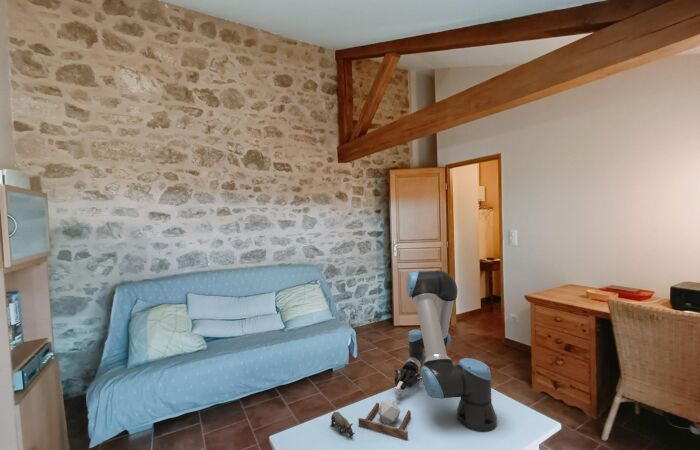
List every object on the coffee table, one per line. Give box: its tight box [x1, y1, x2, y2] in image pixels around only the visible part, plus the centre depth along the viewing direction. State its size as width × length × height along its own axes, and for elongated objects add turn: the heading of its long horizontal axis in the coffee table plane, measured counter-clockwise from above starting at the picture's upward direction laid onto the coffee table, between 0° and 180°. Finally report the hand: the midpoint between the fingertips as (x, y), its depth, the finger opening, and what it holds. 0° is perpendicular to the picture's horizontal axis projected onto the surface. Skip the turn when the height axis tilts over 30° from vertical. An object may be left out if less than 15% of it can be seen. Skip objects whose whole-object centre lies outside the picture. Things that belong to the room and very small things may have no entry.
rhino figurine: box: [330, 411, 356, 437], centre depth 124 cm, size 4×14×6 cm, turn 39°
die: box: [377, 399, 401, 425], centre depth 130 cm, size 8×9×10 cm
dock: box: [358, 402, 412, 441], centre depth 128 cm, size 20×14×3 cm
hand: (397, 391), depth 140 cm, fingers closed
